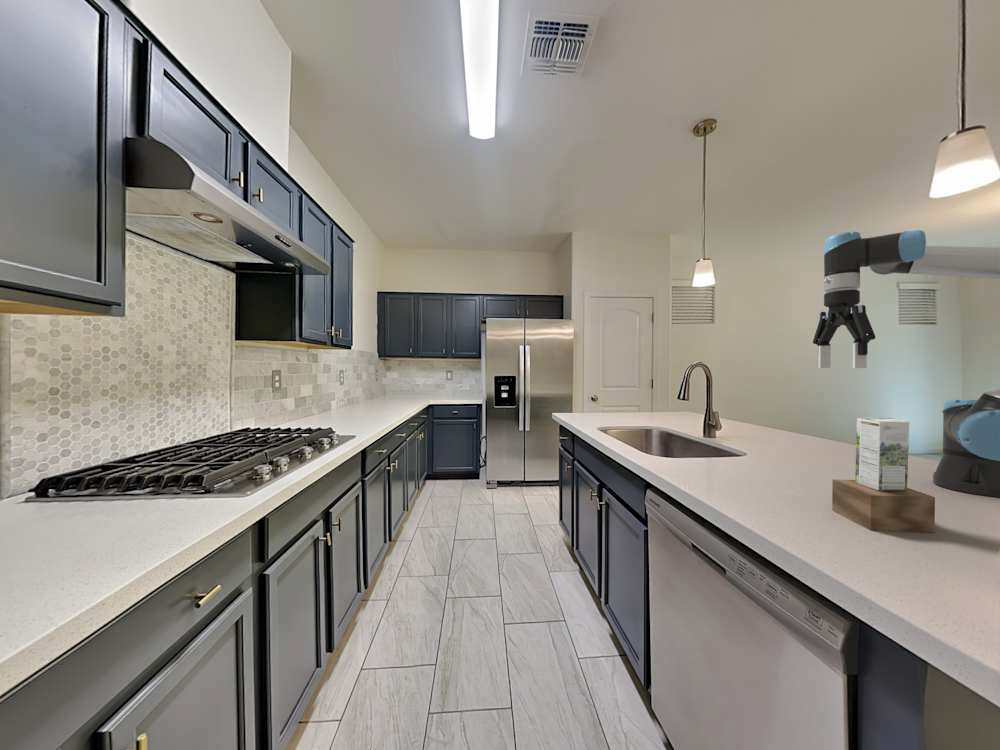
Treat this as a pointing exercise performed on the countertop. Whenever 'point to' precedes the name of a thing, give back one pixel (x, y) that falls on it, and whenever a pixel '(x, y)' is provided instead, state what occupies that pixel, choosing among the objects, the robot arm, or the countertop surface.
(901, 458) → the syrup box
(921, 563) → the countertop surface
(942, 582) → the countertop surface
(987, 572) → the countertop surface
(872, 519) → the walnut block
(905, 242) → the robot arm
